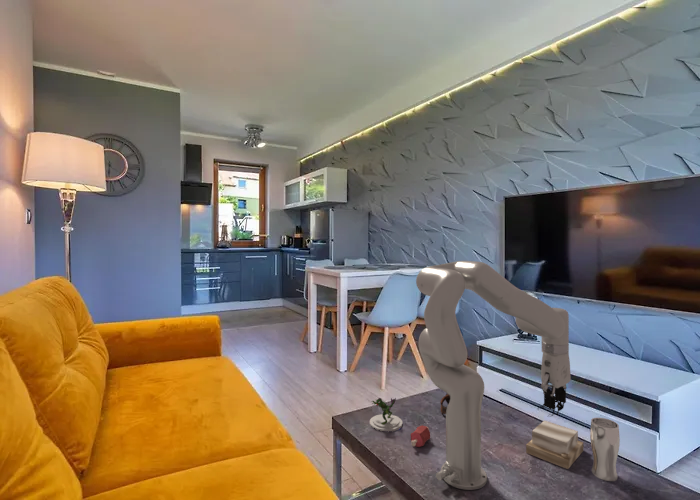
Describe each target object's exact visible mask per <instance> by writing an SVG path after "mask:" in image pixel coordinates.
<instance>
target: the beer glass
mask: <svg viewBox="0 0 700 500" xmlns="http://www.w3.org/2000/svg"><path fill="white" fill-rule="evenodd" d="M589 432H590V433H589V436H590V446H591V452H592V456H593V457H592V458H593V462H592V463H593V464H592V468H591V472H592V474H593V476H595V477H596V478H598V479H600V480H602V481H606V482H616V481H617V480H618V473H617V467H616V465H617V459H618V456H619V451H620V445H621V444H620V442H621V441H620V440H621V438H620V426H619V424H618V423H617V422H616V421H614V420H611V419H608V418H604V417H592V419H590V430H589Z"/></svg>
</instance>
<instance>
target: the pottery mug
mask: <svg viewBox="0 0 700 500" xmlns="http://www.w3.org/2000/svg"><path fill="white" fill-rule="evenodd" d="M444 402H446V404H447V405H448V404H449V402H450V395H449V394H447V393H446V394H445V395H444V396H443V397H442V398H441V399H440V403H439V404H440V409H439V410H440V413H441V415H446V409H447V406H445V405H443V404H444Z"/></svg>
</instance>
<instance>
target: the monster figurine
mask: <svg viewBox="0 0 700 500" xmlns="http://www.w3.org/2000/svg"><path fill="white" fill-rule="evenodd" d="M396 399H397V398H396V397H395V398H393V399H392V397H390V403H391V404H390V405H389V404H387V403H386V401H384V400H383V399H382V398H381V397H378V399H375V401H374V400H371V405H372V406H375V405H376V406H378V407H379V408H381V411H382V412H383V413H381V414H377V415H374V416H372V417H371V418H370V419H369V426H370V425H371V426H372V427H373V428H375V429H377V430H376V431H378V430H380V431H379V432H382V431H388V432H387V433H389V431H392V432H396V431H398V430H400V429H401V428H402V427H403V420H402V418H400V417H399V416H398V415H393V412H392V411H391V410H392V408H393V406H394V405H395V403H396ZM371 426H370V427H371ZM372 427H371V428H372ZM373 428H372V429H373ZM375 429H374V430H375Z"/></svg>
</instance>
